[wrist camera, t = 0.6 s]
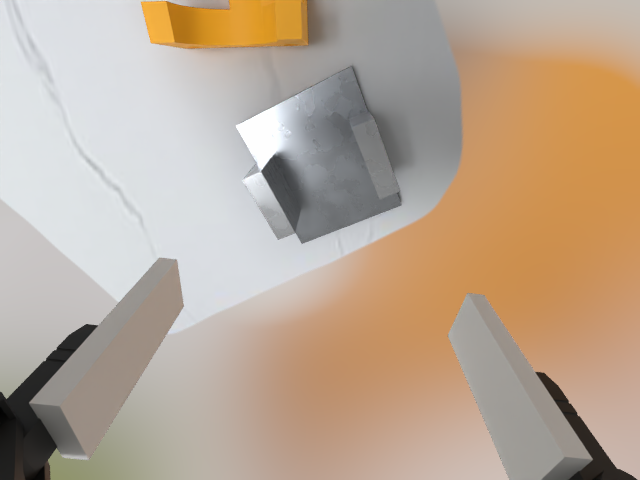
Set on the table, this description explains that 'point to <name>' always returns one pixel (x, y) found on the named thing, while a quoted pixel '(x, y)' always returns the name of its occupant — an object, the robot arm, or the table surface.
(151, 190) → the table surface
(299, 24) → the orange angled block
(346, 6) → the table surface
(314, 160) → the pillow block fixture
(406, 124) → the table surface
